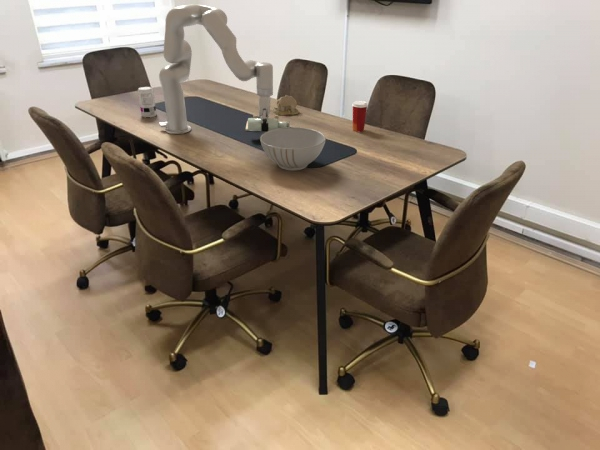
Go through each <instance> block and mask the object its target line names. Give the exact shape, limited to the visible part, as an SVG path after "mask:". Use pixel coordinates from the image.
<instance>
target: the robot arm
mask: <svg viewBox="0 0 600 450" xmlns="http://www.w3.org/2000/svg"><path fill="white" fill-rule="evenodd" d="M227 23H228V16H227V14H226V12H225V11H223V10H222V9H220V8H218V7H213V6H208V5H202V4H197V3H191V4H184V5H179V6H176V7H173V8H171V9H170V10H169V11H168V13H167V14H166V16H165V26H164V29H165V31H164V41H163V43H164V44H163V58H164V59H165V61H166V62H167V63H168V65H166V66H164V67H163V68H161V69H160V71H159V74H158V75H159V76H158V78H159V82H160V85H161V89H162V94H163V101H164V106H165V107H164V108H165V113H166V121H165V122H163V121H162V122H161V121H159V123H158V125H159V127H161V128H165V133H168V134H171V135H179V134H180V135H182V134H185V133H189V132H190V131H191V130H192V127H191V126H190V125H189V124H188V119H187V118H188V117H187V110H186V102H185V101H186V100H185V95H184V91H183V90H184V89H183V88H182V85H181V83H184V82H186V81H187V80H188V79H189V77H190V75H191V74H190V73H191V67H192V66H191V63H192V57H193V56H192V55H193V54H192V47H191V44H190V43H189V42H188V41H187V40H185V29H184V28H185V27H190V26H195V25H200V26H203V28H204V29H205V30H206V32H207V33H208V34H209V35H210V37H211V38H212V39H213V41H214V42H215V43H216V44H217V47H218V48H220V50H221V54H222V56H223V58H224V61H225V63H226V65H227V67H228V68H229V70H230V71H231V72H232V74H233V75H234V77H236V78H237V79H238V80H239V81H241V82H248V81H250V80H251V79H253V78H254V79H255V78H256V79H255V81H256V83H255V84H256V96H258V118H262V123H261V131H260V132H263V133H265V132H267V131H268V118H270V111H271V97H272V96H273V93H274V69H273V68H274V67H273V64H272V63H270V62H260V61H256V60H255V61H254V60H247V61H244V60H243V59H242V56H241V55H240V54H239V51H238V49H237V37H236V35H235V34H234V33H233V31H232V30H231V29H230V27H229V26H228V25H227ZM266 118H267V119H266Z"/></svg>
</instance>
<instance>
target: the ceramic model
mask: <svg viewBox="0 0 600 450" xmlns="http://www.w3.org/2000/svg"><path fill="white" fill-rule="evenodd" d="M297 106H298V103H297V100H296V99H295V98H294V97H293V96H292V95H288V94H285V96H280V98H278V99H277V101H276V107H272V109H273V114H274V115H278V116H284V115H285V116H286V115H287V116H288V115H291V116H292V115H298V114H299V113H300V110H299V109H297Z"/></svg>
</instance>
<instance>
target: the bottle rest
mask: <svg viewBox="0 0 600 450" xmlns="http://www.w3.org/2000/svg"><path fill="white" fill-rule="evenodd" d="M252 118H258V115H257V114H254V115H252ZM274 119H278V122H286V120H279V115H277V114H274ZM245 131H246V132H249V131H248V120H247V121H246V125H245Z"/></svg>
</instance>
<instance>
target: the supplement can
mask: <svg viewBox="0 0 600 450" xmlns="http://www.w3.org/2000/svg"><path fill="white" fill-rule="evenodd" d="M154 93H155V92H154V90H153V88H152V87H151V86H140V87H138V89H137V96H138V102H139V110H140V115H141V116H142V117H143V118H146V117H150V118H154V117H156V116H157V112H158V111H157V107H156V100H155V94H154Z"/></svg>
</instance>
